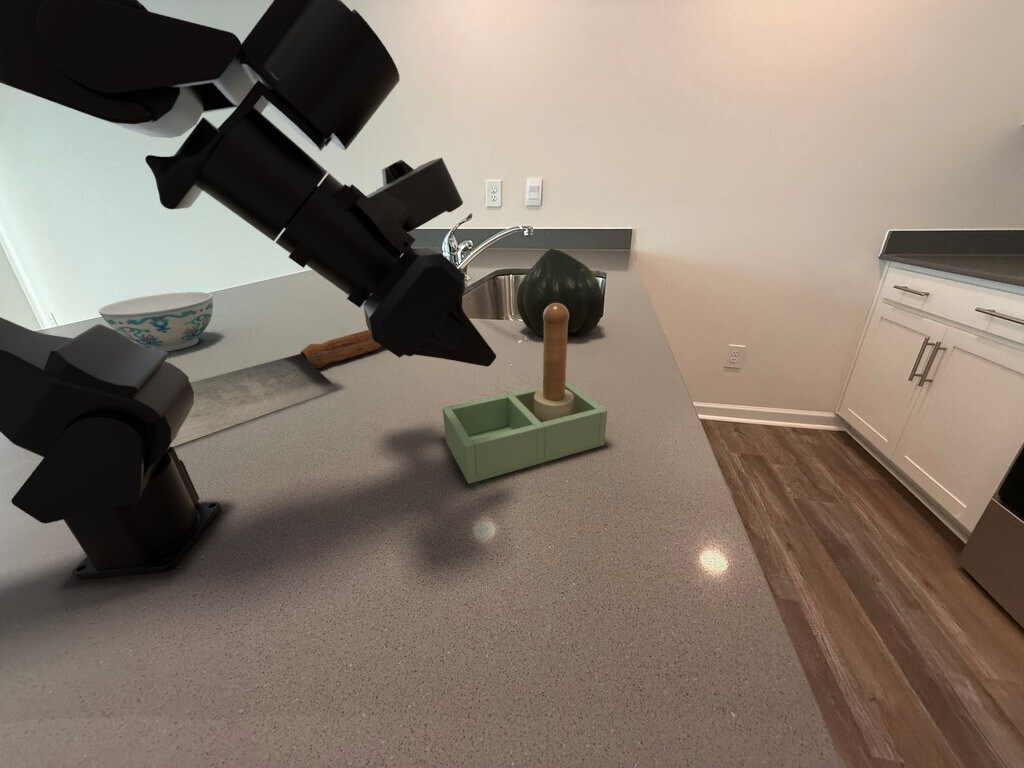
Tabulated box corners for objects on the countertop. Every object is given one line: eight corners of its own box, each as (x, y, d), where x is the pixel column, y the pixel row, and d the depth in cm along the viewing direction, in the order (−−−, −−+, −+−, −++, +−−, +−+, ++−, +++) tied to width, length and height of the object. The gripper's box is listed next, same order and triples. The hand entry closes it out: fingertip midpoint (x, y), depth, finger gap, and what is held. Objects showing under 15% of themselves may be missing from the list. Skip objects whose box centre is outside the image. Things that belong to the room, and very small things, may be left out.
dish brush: (570, 442, 40) (576, 310, 35) (530, 438, 41) (530, 308, 35) (573, 422, 44) (580, 298, 38) (537, 418, 45) (538, 297, 39)
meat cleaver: (163, 451, 42) (147, 416, 40) (141, 415, 48) (127, 385, 47) (427, 359, 64) (424, 334, 63) (387, 344, 71) (383, 321, 69)
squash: (607, 318, 62) (604, 234, 67) (510, 320, 64) (513, 239, 68) (600, 351, 76) (597, 279, 80) (520, 352, 78) (522, 282, 82)
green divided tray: (468, 484, 36) (465, 446, 34) (445, 441, 42) (442, 407, 40) (604, 445, 41) (607, 410, 39) (566, 411, 47) (567, 380, 46)
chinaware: (148, 366, 63) (126, 318, 59) (101, 352, 69) (80, 308, 65) (243, 337, 75) (230, 296, 71) (196, 328, 81) (182, 289, 78)
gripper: (406, 70, 18) (595, 291, 27) (363, 129, 34) (492, 257, 42) (256, 264, 19) (489, 419, 27) (282, 234, 34) (425, 340, 43)
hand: (472, 343), depth 35 cm, fingers open, 9 cm apart
